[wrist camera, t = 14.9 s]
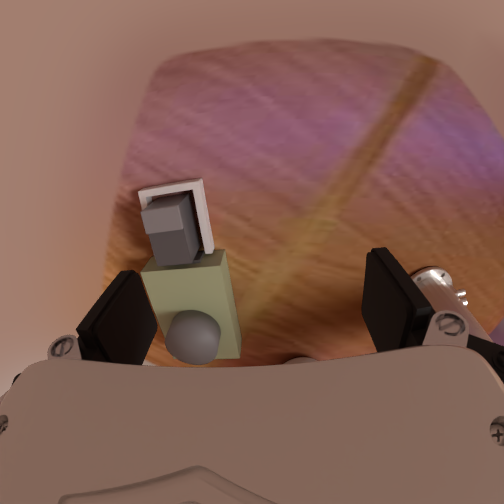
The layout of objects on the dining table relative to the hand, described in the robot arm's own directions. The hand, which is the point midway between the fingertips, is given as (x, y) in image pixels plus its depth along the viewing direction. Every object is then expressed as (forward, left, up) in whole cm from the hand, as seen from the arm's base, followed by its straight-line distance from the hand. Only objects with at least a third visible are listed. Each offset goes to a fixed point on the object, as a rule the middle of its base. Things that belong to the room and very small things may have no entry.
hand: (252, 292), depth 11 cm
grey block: (+12, +6, -28) cm, 32 cm away
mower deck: (+12, +15, -28) cm, 34 cm away
